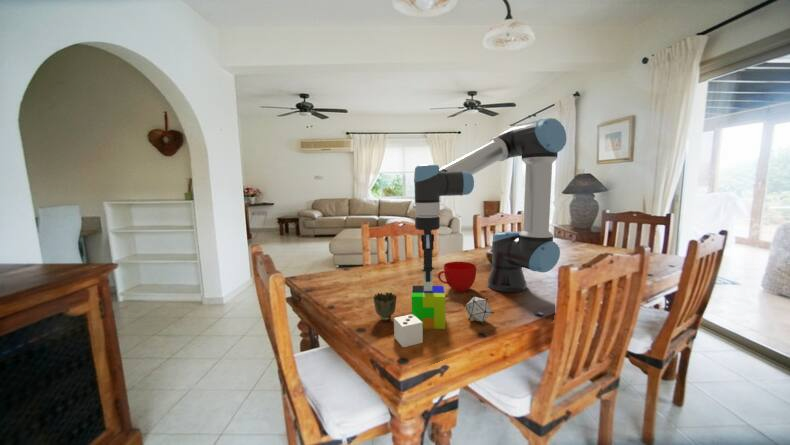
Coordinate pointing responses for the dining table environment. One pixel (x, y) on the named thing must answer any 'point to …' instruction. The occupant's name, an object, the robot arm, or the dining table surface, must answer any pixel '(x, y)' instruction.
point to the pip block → (408, 330)
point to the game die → (478, 309)
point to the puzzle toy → (429, 306)
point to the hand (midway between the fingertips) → (428, 290)
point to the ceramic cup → (459, 275)
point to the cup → (385, 305)
